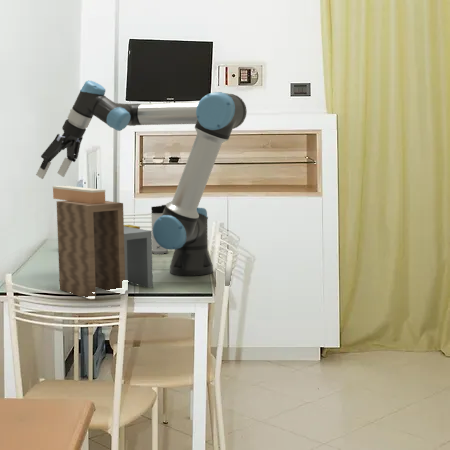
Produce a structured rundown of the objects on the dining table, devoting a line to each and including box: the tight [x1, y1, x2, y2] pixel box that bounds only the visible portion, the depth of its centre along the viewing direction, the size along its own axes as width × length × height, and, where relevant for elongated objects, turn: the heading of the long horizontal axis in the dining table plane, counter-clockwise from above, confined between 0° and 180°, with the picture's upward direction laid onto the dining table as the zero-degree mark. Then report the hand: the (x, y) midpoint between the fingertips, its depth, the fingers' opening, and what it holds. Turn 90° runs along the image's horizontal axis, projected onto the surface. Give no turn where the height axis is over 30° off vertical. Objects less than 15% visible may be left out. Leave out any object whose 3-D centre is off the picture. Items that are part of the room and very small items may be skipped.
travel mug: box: [151, 204, 169, 255], centre depth 309 cm, size 6×7×20 cm
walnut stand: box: [56, 200, 125, 297], centre depth 234 cm, size 20×12×28 cm, turn 39°
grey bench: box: [124, 226, 154, 288], centre depth 245 cm, size 18×11×18 cm, turn 39°
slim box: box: [52, 185, 106, 204], centre depth 237 cm, size 26×5×4 cm, turn 39°
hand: (50, 175), depth 266 cm, fingers open, 13 cm apart
